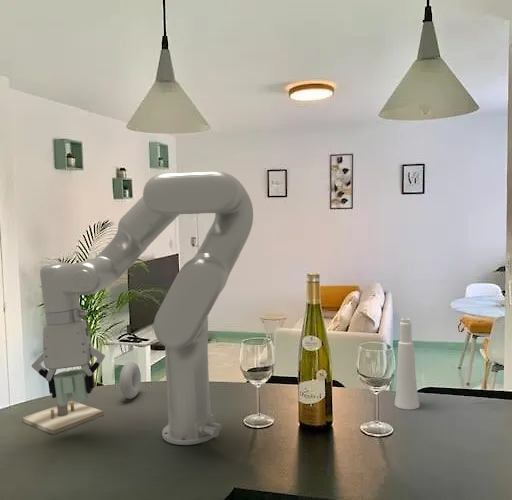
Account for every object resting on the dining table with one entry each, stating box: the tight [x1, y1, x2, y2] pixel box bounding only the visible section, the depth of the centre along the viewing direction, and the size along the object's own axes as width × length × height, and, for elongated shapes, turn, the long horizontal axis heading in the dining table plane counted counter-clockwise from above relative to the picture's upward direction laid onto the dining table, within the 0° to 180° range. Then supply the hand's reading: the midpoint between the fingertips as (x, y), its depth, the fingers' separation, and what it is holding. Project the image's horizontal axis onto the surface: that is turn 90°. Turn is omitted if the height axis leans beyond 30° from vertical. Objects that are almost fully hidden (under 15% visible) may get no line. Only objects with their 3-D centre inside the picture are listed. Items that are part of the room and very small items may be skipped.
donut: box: [119, 361, 142, 400], centre depth 146 cm, size 10×4×10 cm, turn 172°
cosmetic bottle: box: [394, 317, 421, 411], centre depth 132 cm, size 6×6×22 cm
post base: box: [21, 400, 104, 435], centre depth 134 cm, size 14×14×6 cm
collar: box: [54, 368, 91, 405], centre depth 122 cm, size 7×7×6 cm
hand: (72, 393), depth 122 cm, fingers closed on collar, 7 cm apart
